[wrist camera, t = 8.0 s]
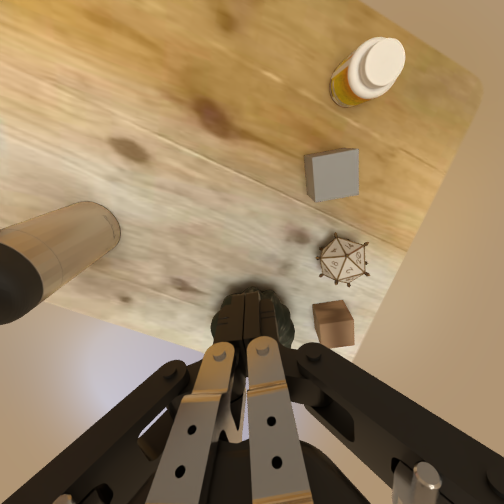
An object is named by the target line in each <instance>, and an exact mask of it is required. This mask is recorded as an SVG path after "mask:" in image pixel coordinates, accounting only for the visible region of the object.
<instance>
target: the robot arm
mask: <svg viewBox="0 0 504 504" xmlns="http://www.w3.org/2000/svg"><path fill="white" fill-rule="evenodd" d="M119 239H120V228H119V225H118V222H117V220H116V219H115V217H114V216H113V215H112V213H111V212H109V211H108V210H107V209H106V208H104V207H103V206H101V205H99V204H96V203H93V202H79V203H76V204H73V205H70V206H67V207H64V208H61V209H58V210H55V211H52V212H49V213H46V214H44V215H41V216H38V217H35V218H32V219H29V220H26V221H23V222H20V223H18V224H15V225H12V226H9V227H6V228H3V229H0V325H3V324H7V323H10V322H13V321H15V320H17V319H19V318H21V317H22V316H24V315H25V314H26V313H28V312H29V311H30V310H32V309H33V308H34V307H36V306H37V305H38V304H40V303H41V302H42V301H44V300H45V299H46V298H48V297H49V296H50V295H52V294H53V293H54V292H56V291H57V290H58V289H59V288H61V287H62V286H63V285H65V284H66V283H67V282H69V281H70V280H71V279H73V278H74V277H75V276H77V275H78V274H79V273H81V272H82V271H83V270H85V269H86V268H87V267H89V266H90V265H91V264H93V263H94V262H95V261H97V260H98V259H99V258H101V257H102V256H103V255H105V254H106V253H107V252H109V251H110V250H111V249H113V248H114V247H115V246H116V245H117V243H118V241H119ZM246 377H248V378H249V390H247V404H248V423H249V439H247V440H245V441H242V430H243V421H244V412H245V401H246V388H245V385H246ZM291 402H296V403H300V404H304V406H305V408H306V409H307V410H308V411H309V412H310V413H311V414H312V415H313V416H314V417H315V418H316V419H317V420H318V421H319V422H321V424H323V425H324V426H325V427H326V428H327V429H328V430H329V431H330V432H331V433H332V434H333V435H334V436H336V438H338V439H339V440H340V441H341V442H342V443H343V444H344V445H345V446H346V447H347V448H348V449H350V450H351V451H352V452H353V453H354V454H355V455H356V456H357V457H358V458H359V459H360V460H361V461H362V462H363V463H364V464H366V465H367V466H368V467H369V468H370V469H371V470H372V471H373V472H374V473H375V474H376V475H378V477H380V478H381V479H382V480H383V481H384V482H385V483H386V484H387V485H388V486H389V487H390V488H391V489H392V502H393V504H504V457H502V456H501V455H499V454H497V453H496V452H494V451H492V450H491V449H489V448H488V447H486V446H485V445H483V444H481V443H480V442H478V441H476V440H475V439H473V438H472V437H470V436H468V435H467V434H465V433H464V432H462V431H460V430H459V429H457V428H456V427H454V426H452V425H451V424H449V423H448V422H446V421H444V420H443V419H441V418H440V417H438V416H436V415H435V414H433V413H432V412H430V411H428V410H427V409H425V408H424V407H422V406H420V405H418V404H417V403H416V402H414V401H412V400H411V399H409V398H408V397H406V396H404V395H403V394H401V393H400V392H398V391H396V390H395V389H393V388H391V387H390V386H388V385H387V384H385V383H384V382H382V381H380V380H379V379H377V378H375V377H374V376H372V375H371V374H369V373H367V372H366V371H364V370H363V369H361V368H359V367H358V366H356V365H355V364H353V363H351V362H350V361H348V360H347V359H345V358H343V357H342V356H340V355H339V354H337V353H335V352H334V351H332V350H331V349H329V348H327V347H326V346H324V345H322V344H320V343H314V342H311V343H306V344H304V345H302V346H301V347H300V348H299V349H298V350H296V349H290V348H287V347H285V346H283V345H282V344H281V343H280V342H279V334H278V326H277V320H276V315H275V309H274V304H273V303H272V301H271V300H270V299H264V300H261V299H260V294H259V291H256V292H250V293H246V294H245V293H244V294H237V295H232V301H231V305H224V307H223V308H222V309H221V311H220V312H219V317H218V322H217V327H216V332H215V337H214V342H213V345H212V346H211V347H209V348H208V349H207V351H206V352H205V354H204V357H203V359H202V360H200V361H198V362H196V363H193V364H191V365H188V366H186V364H185V363H184V362H183V361H180V360H173V361H170V362H168V363H166V364H164V365H163V366H161V367H160V368H159V369H158V370H157V371H156V372H154V373H153V374H152V375H151V376H150V377H149V378H147V379H146V380H145V381H144V382H143V383H142V384H141V385H139V386H138V387H137V388H136V389H135V390H133V391H132V392H131V393H130V394H129V395H128V396H126V397H125V398H124V399H123V400H122V401H121V402H119V403H118V404H117V405H116V406H115V407H114V408H112V409H111V410H110V411H109V412H108V413H107V414H106V415H104V416H103V417H102V418H101V419H100V420H98V421H97V422H96V423H95V424H94V425H93V426H91V427H90V428H89V429H88V430H87V431H86V432H84V433H83V434H82V435H81V436H80V437H79V438H78V439H76V440H75V441H74V442H73V443H72V444H71V445H69V446H68V447H67V448H66V449H65V450H63V451H62V452H61V453H60V454H59V455H58V456H56V457H55V458H54V459H53V460H52V461H51V462H49V463H48V464H47V465H46V466H45V467H44V468H42V470H40V471H39V472H38V473H37V474H35V475H34V476H33V477H32V478H31V479H30V480H29V481H27V482H26V483H25V484H24V485H23V486H21V487H20V488H19V489H18V490H17V491H16V492H14V493H13V494H12V495H11V496H10V497H9V498H8V499H6V500H5V501H4V502H3V503H2V504H370V502H369V501H368V500H367V499H366V498H365V497H364V496H363V495H362V493H361V492H360V491H359V490H358V489H357V488H356V487H355V486H354V485H353V484H352V483H351V482H350V480H349V479H348V478H347V477H346V476H345V475H344V474H343V473H342V472H341V470H340V469H339V468H338V467H337V466H336V465H335V464H334V463H333V462H332V461H331V460H330V459H329V458H328V457H327V456H326V455H325V454H324V453H322V451H320V450H319V449H317V448H316V447H314V446H313V445H311V444H309V443H307V442H304V441H301V440H299V436H298V432H297V428H296V423H295V418H294V414H293V409H292V405H291ZM165 407H166V408H167V410H166V411H165V413H163V415H162V416H161V417H160V418H159V419H158V420H157V421H156V422H155V423H154V424H153V425H152V426H151V427H150V428H149V429H148V430H147V431H146V432H145V433H144V434H143V435H142V436H141V437H139V435H140V433H141V432H142V430H143V429H144V428H145V427H146V426H147V425H148V424H149V423H150V422H151V421H152V420H153V419H154V418H155V417H156V416H157V415H158V414H159V413H160V412H161V411H162V410H163V409H164V408H165ZM138 437H139V438H138Z"/></svg>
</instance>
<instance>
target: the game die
mask: <svg viewBox="0 0 504 504" xmlns="http://www.w3.org/2000/svg"><path fill="white" fill-rule="evenodd" d="M334 236H335V239H334V240H332V241H331V242H330V243H329V244H328V245H327V246H326V247H325V248H324V249H323V248H322V247H321V248H319V249H320V250H321V251H322V253H321V256H320V257H318V256H317V257H316V259H317V260H319V259H320V263H321V268H322V274H320V275H319V277H323V275H325V276H327V277H329V278H331V279H333V280H336V281H335V285H337V284H338V281H339V282H344V283H347V286H348V287H349V288H350V286H351V285H350V282H351V281H353V280H355V279H356V278H358V277H360V276H361V275H363V274H365V275H366V276H370V275H369V273H367V272H365V265H367V264H368V263H367V261H366V262H365V246H367V245H368V243H369V242H365V243H364V245H362V244H359V243H355V242H352V241H350V240H349V239H347V240H345V239H342V238H339V237H337V236H338V235H337V233H336V232H335V234H334Z"/></svg>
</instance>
